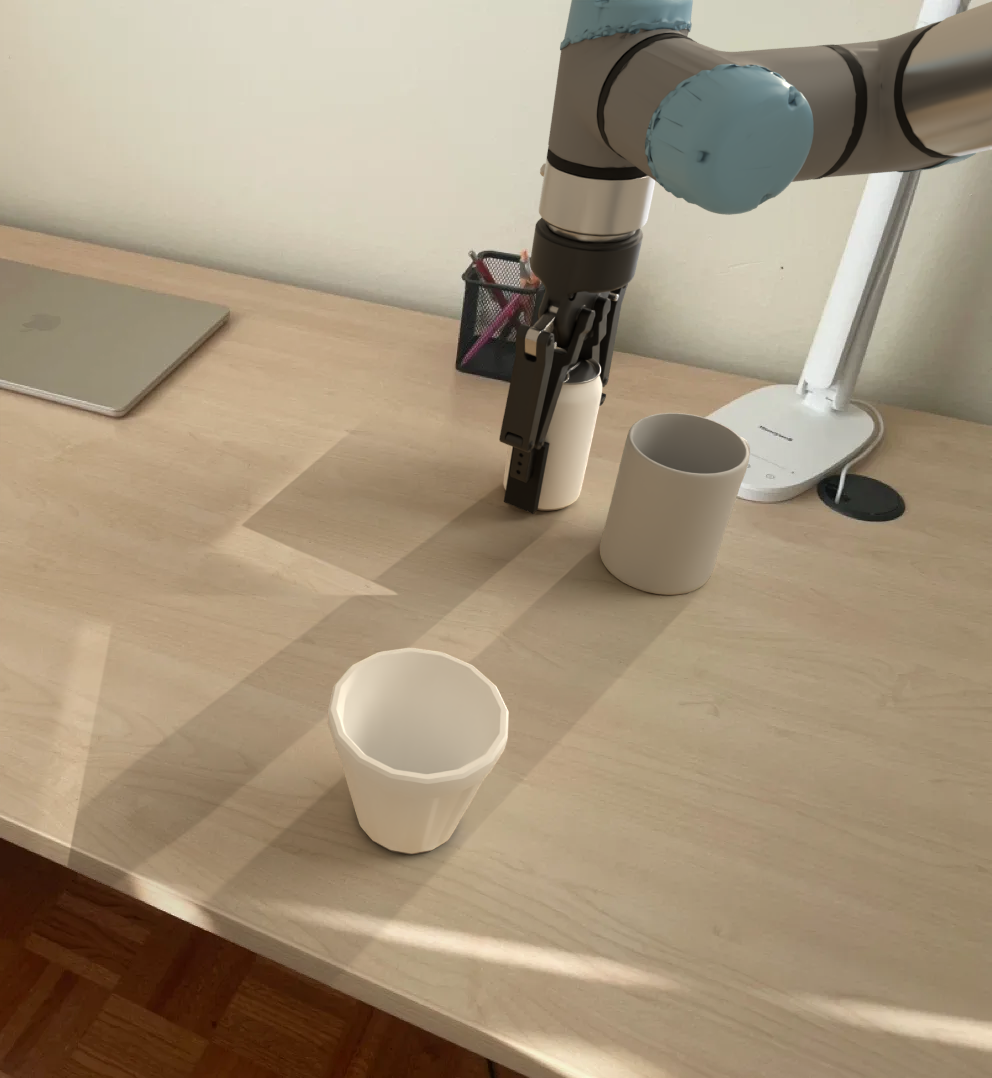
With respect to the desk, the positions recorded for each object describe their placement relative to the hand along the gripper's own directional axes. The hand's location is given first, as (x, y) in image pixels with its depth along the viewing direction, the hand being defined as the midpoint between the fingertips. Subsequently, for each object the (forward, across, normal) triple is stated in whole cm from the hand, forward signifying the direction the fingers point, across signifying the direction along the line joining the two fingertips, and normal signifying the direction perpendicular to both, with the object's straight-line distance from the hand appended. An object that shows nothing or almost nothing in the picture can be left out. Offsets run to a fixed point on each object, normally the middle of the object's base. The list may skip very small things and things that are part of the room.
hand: (541, 485), depth 90 cm
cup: (+1, +35, +10) cm, 36 cm away
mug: (+1, +1, +12) cm, 12 cm away
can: (+1, 0, 0) cm, 1 cm away
